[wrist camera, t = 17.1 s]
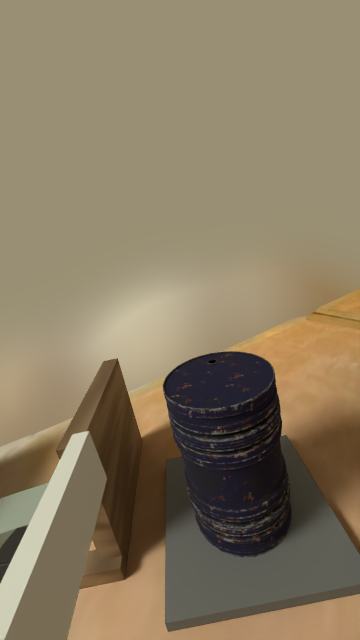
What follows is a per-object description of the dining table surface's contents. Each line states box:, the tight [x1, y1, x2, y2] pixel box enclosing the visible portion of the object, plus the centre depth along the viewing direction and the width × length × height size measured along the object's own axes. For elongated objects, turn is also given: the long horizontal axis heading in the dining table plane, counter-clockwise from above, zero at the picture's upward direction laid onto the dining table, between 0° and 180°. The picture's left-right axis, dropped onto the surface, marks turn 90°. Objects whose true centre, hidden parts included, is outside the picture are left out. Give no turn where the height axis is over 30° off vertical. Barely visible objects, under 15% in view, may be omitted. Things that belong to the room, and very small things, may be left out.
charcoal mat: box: [165, 435, 360, 632], centre depth 28 cm, size 16×16×1 cm
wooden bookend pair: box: [56, 359, 142, 589], centre depth 32 cm, size 28×18×14 cm, turn 93°
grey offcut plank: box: [0, 483, 49, 548], centre depth 31 cm, size 11×5×2 cm, turn 102°
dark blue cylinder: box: [163, 351, 292, 557], centre depth 26 cm, size 10×10×15 cm
